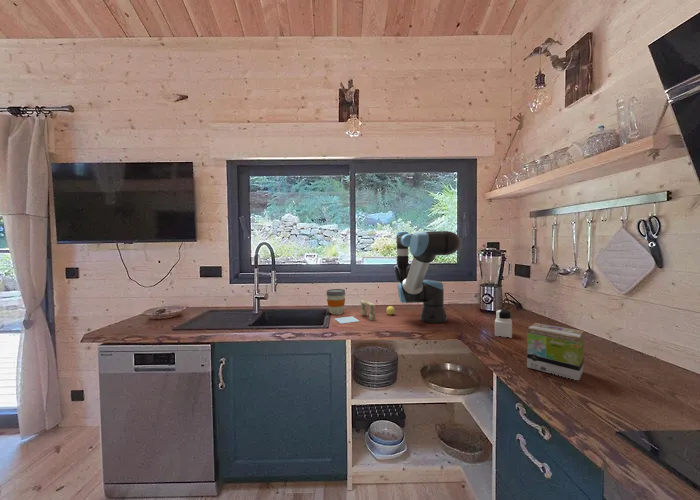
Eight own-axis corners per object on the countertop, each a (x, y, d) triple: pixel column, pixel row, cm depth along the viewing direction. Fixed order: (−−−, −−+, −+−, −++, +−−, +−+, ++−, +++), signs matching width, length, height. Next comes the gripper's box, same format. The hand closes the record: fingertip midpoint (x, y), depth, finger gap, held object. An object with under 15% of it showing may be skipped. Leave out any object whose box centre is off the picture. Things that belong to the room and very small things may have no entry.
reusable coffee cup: (323, 313, 189) (322, 290, 189) (335, 309, 199) (334, 288, 199) (337, 316, 182) (337, 292, 181) (349, 312, 192) (349, 289, 191)
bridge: (365, 314, 184) (365, 300, 184) (375, 320, 170) (374, 304, 170) (361, 315, 183) (360, 300, 183) (370, 320, 169) (370, 305, 169)
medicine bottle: (512, 334, 140) (511, 309, 140) (511, 338, 134) (511, 313, 134) (495, 332, 144) (495, 308, 143) (494, 336, 138) (494, 311, 137)
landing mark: (359, 321, 168) (359, 321, 168) (340, 323, 164) (340, 323, 164) (352, 316, 180) (352, 316, 180) (334, 318, 175) (334, 318, 175)
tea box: (526, 368, 102) (526, 327, 102) (533, 360, 109) (533, 321, 109) (580, 382, 92) (580, 336, 91) (584, 372, 99) (584, 329, 98)
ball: (396, 315, 181) (396, 306, 181) (389, 316, 179) (388, 307, 179) (392, 313, 186) (392, 304, 186) (384, 314, 184) (384, 305, 184)
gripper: (408, 254, 191) (408, 289, 191) (390, 255, 186) (391, 291, 187) (414, 255, 184) (415, 291, 184) (396, 255, 179) (397, 293, 180)
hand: (403, 291), depth 186 cm, fingers closed
